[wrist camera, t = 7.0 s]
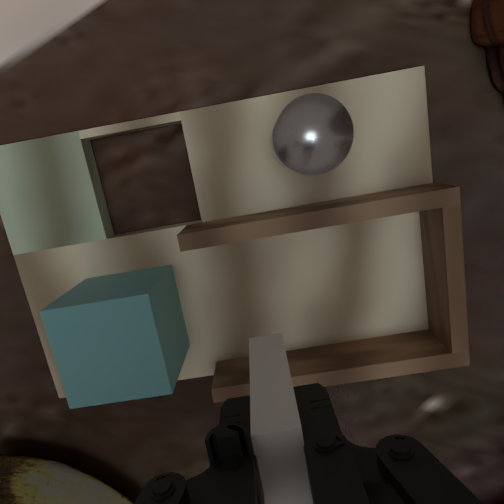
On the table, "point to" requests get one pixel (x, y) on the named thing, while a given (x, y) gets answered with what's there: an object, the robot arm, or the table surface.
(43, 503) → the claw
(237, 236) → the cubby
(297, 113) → the grey knob
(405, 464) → the robot arm
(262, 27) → the table surface
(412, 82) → the board
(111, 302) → the block
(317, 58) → the table surface
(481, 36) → the wooden figurine
